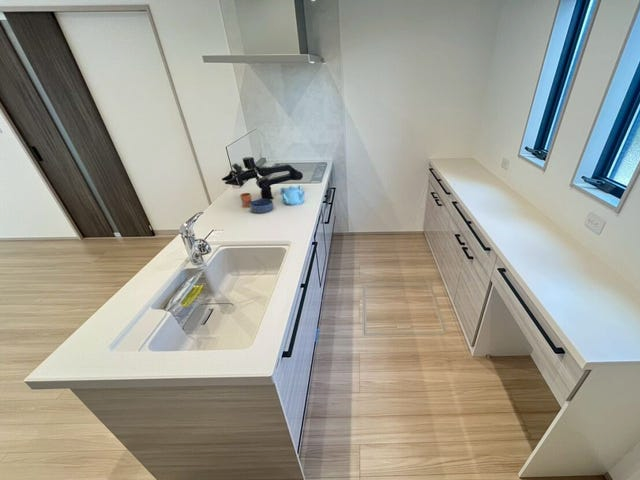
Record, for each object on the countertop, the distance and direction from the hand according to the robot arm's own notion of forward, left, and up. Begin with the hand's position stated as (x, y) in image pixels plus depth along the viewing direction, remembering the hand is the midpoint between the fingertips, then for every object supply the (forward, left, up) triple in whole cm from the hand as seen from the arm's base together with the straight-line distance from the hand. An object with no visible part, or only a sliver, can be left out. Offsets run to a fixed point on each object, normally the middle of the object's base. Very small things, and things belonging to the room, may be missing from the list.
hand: (223, 181), depth 196 cm
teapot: (-38, +17, -16) cm, 45 cm away
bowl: (-16, +19, -16) cm, 30 cm away
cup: (-10, +6, -16) cm, 20 cm away
